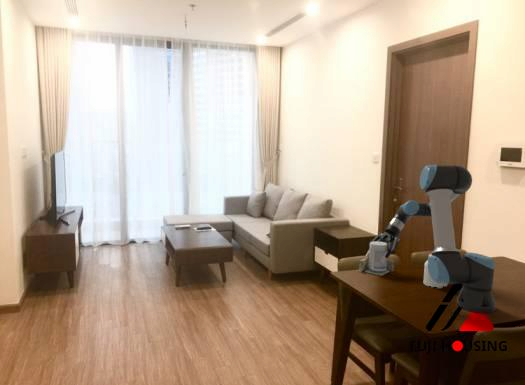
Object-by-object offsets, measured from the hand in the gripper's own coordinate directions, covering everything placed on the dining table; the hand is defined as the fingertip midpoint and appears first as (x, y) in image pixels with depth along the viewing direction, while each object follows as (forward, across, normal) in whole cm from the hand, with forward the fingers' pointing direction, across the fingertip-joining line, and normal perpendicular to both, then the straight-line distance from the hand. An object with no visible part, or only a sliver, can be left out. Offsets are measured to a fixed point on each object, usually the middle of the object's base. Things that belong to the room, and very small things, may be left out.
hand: (374, 259), depth 231 cm
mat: (+3, 0, -7) cm, 8 cm away
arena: (+3, 0, -7) cm, 8 cm away
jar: (-3, -30, -14) cm, 33 cm away
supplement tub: (+2, 0, -6) cm, 7 cm away
